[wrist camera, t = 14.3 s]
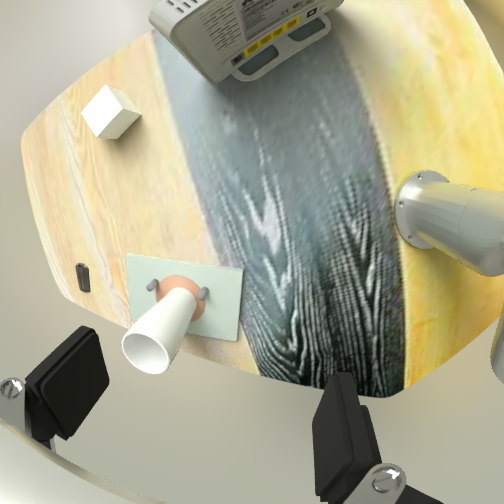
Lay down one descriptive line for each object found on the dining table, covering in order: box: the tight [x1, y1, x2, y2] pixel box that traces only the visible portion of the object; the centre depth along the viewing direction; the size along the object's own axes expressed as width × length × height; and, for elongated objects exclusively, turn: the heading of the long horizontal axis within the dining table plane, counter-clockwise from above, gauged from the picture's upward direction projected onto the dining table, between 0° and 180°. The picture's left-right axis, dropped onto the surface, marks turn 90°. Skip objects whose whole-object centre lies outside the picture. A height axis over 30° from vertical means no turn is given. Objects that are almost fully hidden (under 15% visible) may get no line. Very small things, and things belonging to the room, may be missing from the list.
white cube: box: [81, 85, 142, 140], centre depth 34 cm, size 6×6×6 cm
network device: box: [149, 0, 344, 85], centre depth 22 cm, size 26×9×20 cm, turn 130°
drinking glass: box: [122, 287, 197, 374], centre depth 37 cm, size 7×7×15 cm
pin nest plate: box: [126, 253, 244, 342], centre depth 43 cm, size 20×13×4 cm, turn 84°
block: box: [76, 263, 90, 292], centre depth 47 cm, size 4×6×2 cm, turn 176°
